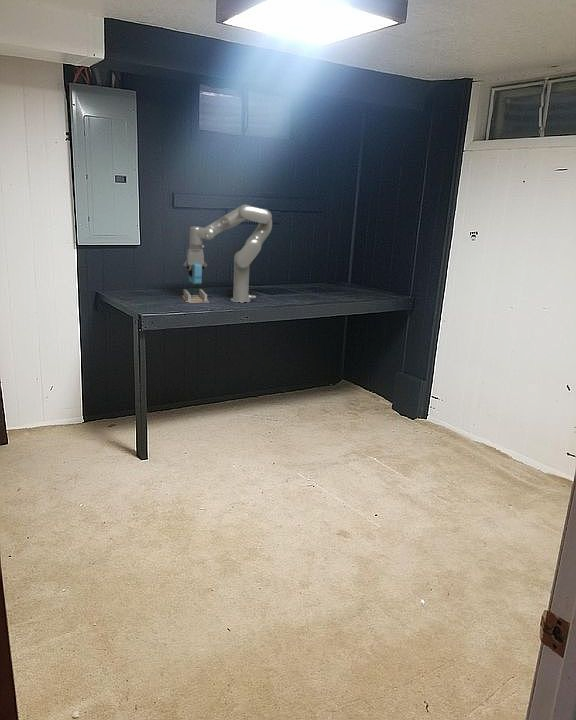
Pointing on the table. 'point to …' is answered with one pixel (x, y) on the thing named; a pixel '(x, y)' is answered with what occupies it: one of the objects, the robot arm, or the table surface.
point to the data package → (196, 274)
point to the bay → (195, 297)
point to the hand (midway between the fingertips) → (195, 276)
